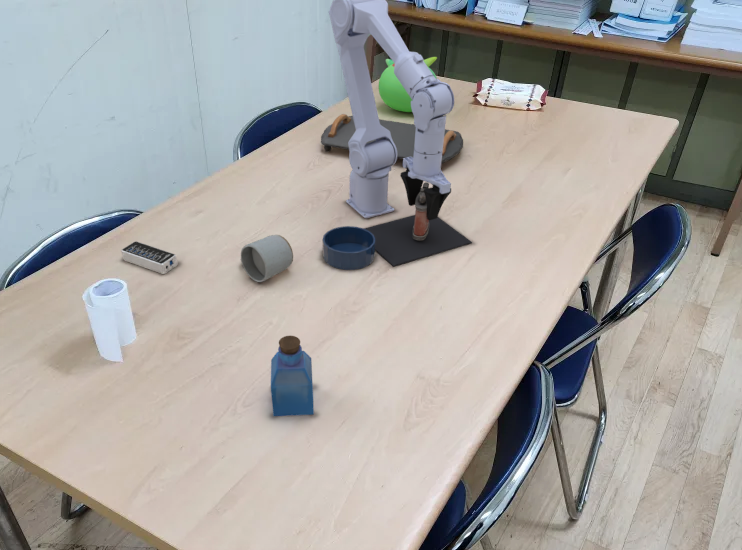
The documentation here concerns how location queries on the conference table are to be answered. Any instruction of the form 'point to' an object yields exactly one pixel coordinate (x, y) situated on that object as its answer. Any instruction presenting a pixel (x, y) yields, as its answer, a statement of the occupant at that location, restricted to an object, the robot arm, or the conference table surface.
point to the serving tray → (400, 134)
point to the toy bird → (397, 87)
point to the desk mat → (414, 240)
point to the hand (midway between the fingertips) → (422, 211)
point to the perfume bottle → (291, 379)
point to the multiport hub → (149, 257)
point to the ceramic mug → (266, 257)
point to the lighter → (421, 215)
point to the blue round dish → (348, 247)
